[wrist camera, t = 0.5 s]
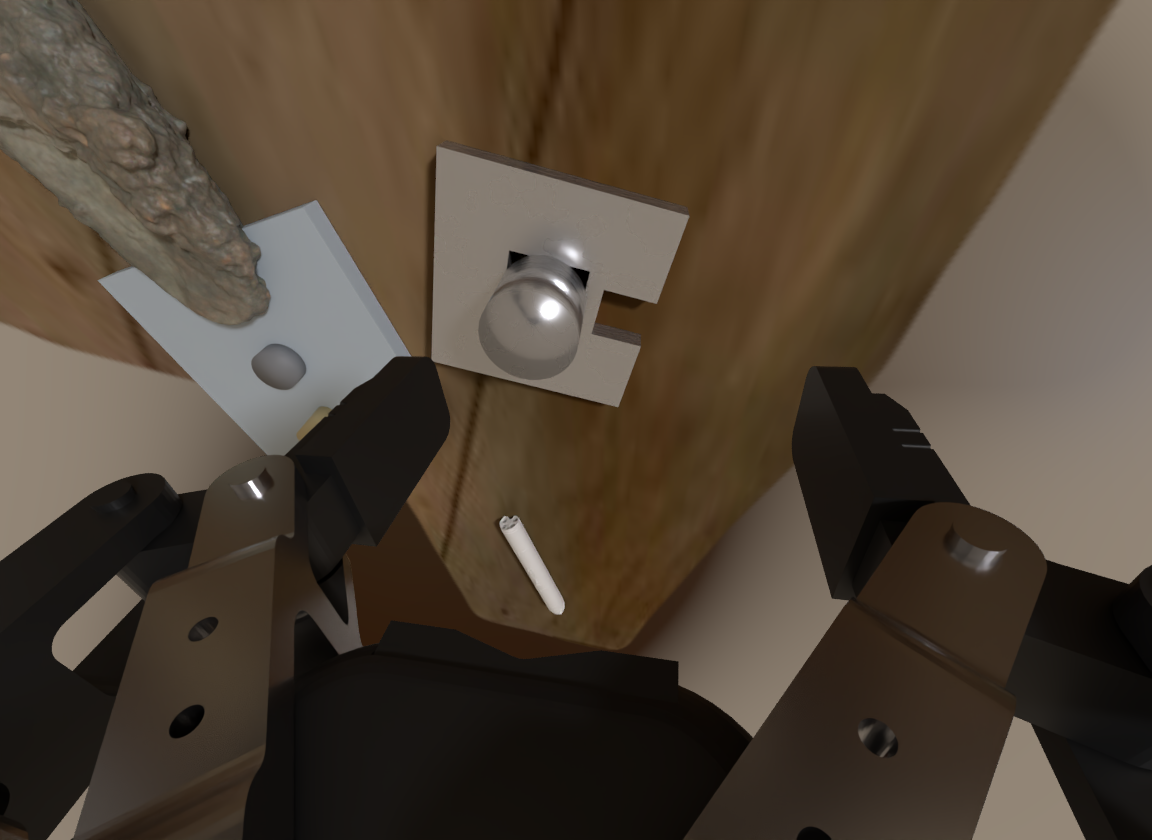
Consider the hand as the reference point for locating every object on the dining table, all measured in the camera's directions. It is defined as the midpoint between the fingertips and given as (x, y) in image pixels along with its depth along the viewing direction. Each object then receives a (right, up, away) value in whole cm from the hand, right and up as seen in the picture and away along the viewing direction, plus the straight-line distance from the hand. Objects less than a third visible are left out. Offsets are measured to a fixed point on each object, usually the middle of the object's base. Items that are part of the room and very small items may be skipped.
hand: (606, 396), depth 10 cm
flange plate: (-3, +8, +21) cm, 22 cm away
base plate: (-23, +5, +26) cm, 35 cm away
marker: (-5, -17, +43) cm, 46 cm away
